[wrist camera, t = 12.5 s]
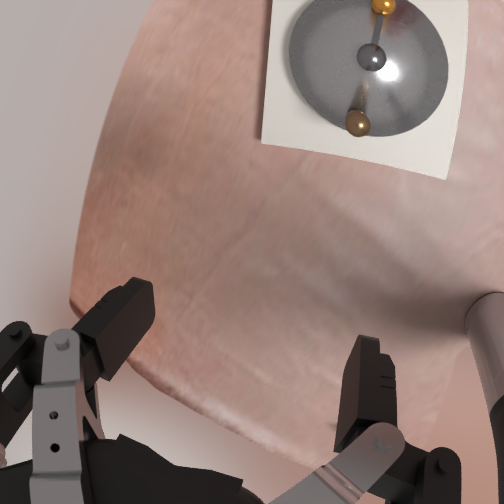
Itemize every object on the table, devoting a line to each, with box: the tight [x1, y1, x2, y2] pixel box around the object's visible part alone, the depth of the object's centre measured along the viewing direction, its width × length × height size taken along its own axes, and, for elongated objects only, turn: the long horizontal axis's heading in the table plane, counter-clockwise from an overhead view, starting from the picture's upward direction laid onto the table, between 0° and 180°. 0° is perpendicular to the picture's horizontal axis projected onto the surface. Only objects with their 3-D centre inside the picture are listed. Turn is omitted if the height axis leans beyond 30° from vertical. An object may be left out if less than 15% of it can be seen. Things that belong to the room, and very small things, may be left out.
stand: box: [261, 0, 468, 180], centre depth 28 cm, size 22×23×4 cm
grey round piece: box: [289, 0, 449, 137], centre depth 25 cm, size 17×17×8 cm
